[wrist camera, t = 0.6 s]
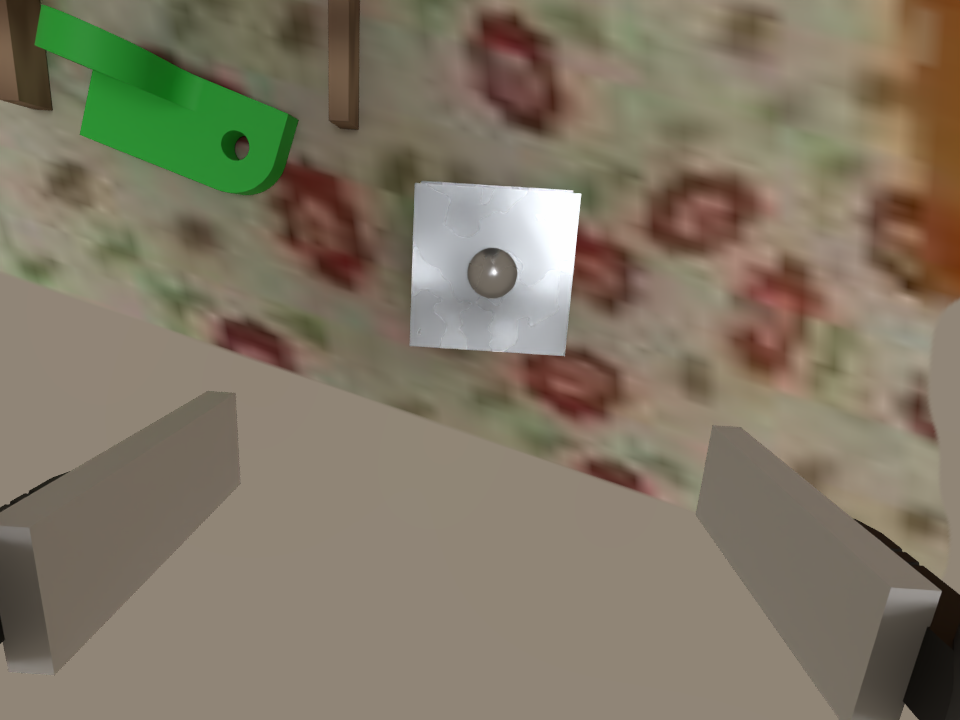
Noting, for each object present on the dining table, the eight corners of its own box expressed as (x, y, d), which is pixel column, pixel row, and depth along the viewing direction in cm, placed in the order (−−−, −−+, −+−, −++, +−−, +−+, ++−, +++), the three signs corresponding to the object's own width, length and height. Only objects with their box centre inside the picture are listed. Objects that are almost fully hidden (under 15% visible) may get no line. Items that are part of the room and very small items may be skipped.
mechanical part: (102, 140, 35) (-9, 112, 27) (122, 47, 34) (11, -10, 26) (274, 209, 36) (213, 201, 28) (299, 120, 35) (243, 87, 27)
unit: (422, 181, 35) (391, 157, 24) (572, 191, 35) (608, 170, 24) (417, 329, 37) (386, 367, 26) (557, 338, 37) (584, 380, 26)
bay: (6, -117, 32) (-44, -153, 29) (360, -96, 31) (347, -130, 29) (34, 109, 34) (-8, 97, 32) (358, 129, 34) (346, 119, 31)
